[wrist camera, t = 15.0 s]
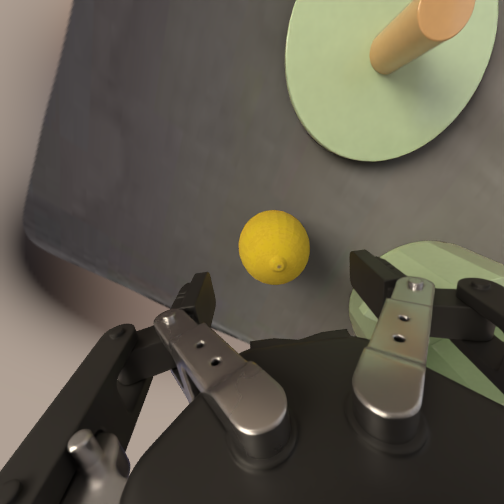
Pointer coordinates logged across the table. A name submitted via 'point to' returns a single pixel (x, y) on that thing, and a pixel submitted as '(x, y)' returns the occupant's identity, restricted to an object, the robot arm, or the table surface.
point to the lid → (385, 70)
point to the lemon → (274, 247)
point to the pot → (445, 277)
